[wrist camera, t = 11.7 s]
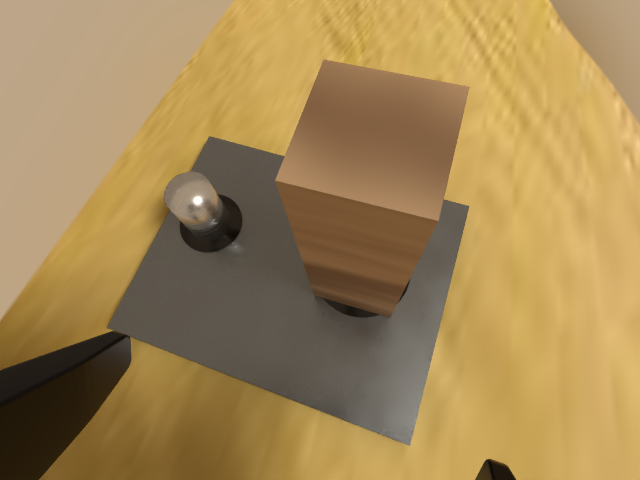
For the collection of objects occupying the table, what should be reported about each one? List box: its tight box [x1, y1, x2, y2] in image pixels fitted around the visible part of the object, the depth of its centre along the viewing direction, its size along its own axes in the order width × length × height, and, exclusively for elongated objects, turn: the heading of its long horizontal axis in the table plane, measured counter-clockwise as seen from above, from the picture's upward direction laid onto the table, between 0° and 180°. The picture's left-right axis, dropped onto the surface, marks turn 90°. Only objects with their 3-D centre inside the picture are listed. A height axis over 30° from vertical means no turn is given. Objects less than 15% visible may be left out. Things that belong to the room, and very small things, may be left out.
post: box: [275, 60, 469, 317], centre depth 17 cm, size 4×4×13 cm
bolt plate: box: [107, 136, 469, 446], centre depth 23 cm, size 14×18×5 cm
